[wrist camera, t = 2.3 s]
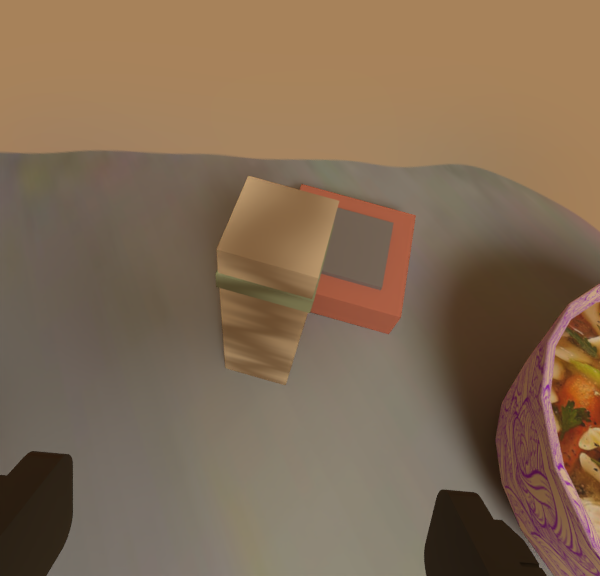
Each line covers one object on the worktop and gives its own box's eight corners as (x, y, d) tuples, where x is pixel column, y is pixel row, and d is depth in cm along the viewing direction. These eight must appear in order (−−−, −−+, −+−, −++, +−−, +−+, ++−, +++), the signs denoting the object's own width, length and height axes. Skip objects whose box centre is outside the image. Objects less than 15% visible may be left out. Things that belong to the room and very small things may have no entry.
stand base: (266, 299, 35) (269, 277, 32) (297, 207, 40) (302, 180, 37) (388, 334, 34) (402, 315, 32) (404, 236, 40) (417, 212, 37)
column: (223, 368, 31) (213, 250, 19) (243, 313, 34) (247, 173, 21) (286, 387, 31) (320, 280, 18) (302, 329, 34) (341, 199, 21)
